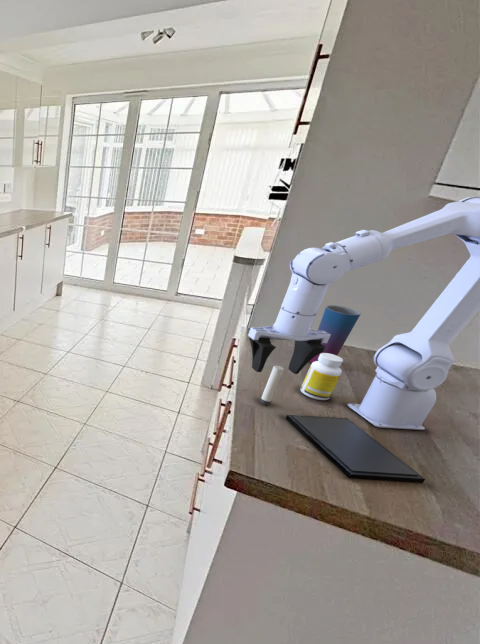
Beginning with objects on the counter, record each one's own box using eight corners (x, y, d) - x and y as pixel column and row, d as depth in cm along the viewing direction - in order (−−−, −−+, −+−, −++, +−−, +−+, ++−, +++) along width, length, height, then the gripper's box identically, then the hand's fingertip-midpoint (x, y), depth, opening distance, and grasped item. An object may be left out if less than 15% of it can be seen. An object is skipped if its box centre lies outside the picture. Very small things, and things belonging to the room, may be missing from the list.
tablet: (345, 422, 84) (347, 417, 84) (422, 483, 69) (426, 478, 69) (285, 418, 85) (287, 413, 84) (349, 478, 70) (352, 473, 69)
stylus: (266, 401, 91) (280, 365, 87) (271, 405, 89) (286, 369, 85) (257, 400, 91) (271, 365, 87) (262, 405, 89) (277, 369, 85)
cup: (297, 356, 111) (319, 305, 105) (319, 356, 112) (342, 304, 106) (319, 368, 105) (343, 315, 99) (342, 368, 106) (368, 314, 100)
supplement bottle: (334, 402, 91) (353, 364, 87) (307, 399, 92) (324, 361, 88) (320, 389, 96) (337, 352, 92) (294, 386, 97) (310, 349, 93)
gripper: (321, 305, 84) (296, 363, 89) (249, 301, 84) (229, 360, 90) (348, 318, 77) (320, 379, 83) (270, 314, 78) (247, 376, 83)
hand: (274, 370), depth 86 cm, fingers open, 7 cm apart
